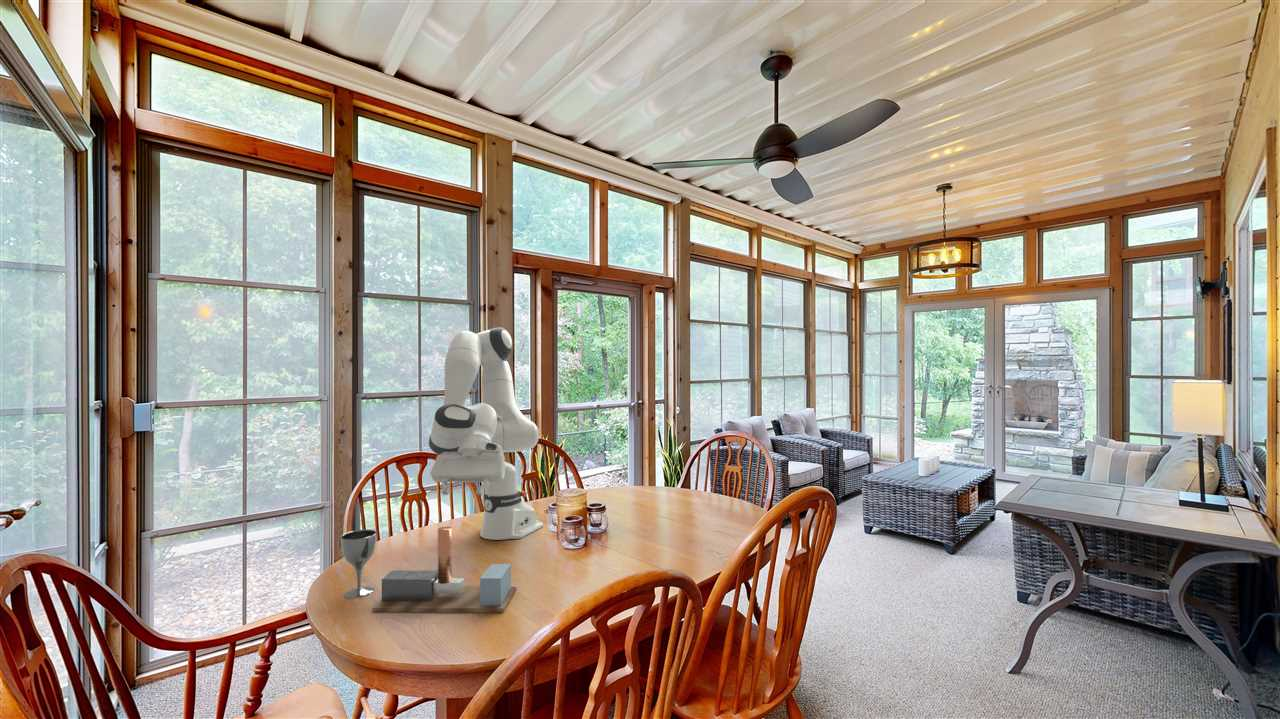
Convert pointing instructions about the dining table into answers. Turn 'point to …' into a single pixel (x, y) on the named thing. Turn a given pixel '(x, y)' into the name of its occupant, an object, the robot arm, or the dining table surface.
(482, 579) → the socket block
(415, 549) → the dining table surface
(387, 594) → the graphite sleeve
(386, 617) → the dining table surface
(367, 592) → the wine glass
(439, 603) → the walnut board
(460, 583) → the upright copper peg
